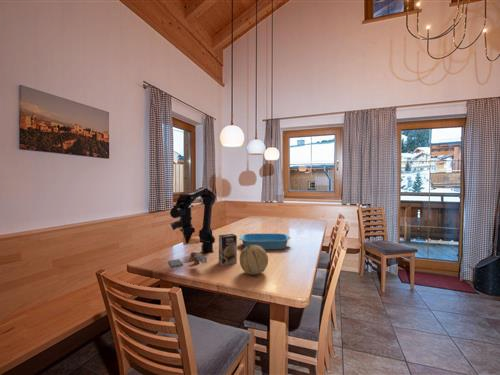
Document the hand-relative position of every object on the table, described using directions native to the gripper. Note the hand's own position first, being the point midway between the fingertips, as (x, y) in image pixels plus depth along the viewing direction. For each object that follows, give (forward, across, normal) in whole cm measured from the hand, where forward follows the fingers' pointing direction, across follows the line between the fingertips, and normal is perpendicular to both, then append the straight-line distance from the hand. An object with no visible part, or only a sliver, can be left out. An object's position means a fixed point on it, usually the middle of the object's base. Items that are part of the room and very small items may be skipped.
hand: (186, 242), depth 135 cm
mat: (+12, -1, -6) cm, 13 cm away
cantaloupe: (+12, +30, +28) cm, 43 cm away
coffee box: (+12, +10, +22) cm, 27 cm away
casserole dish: (+12, -11, +58) cm, 60 cm away
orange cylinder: (+1, 0, +3) cm, 3 cm away
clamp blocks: (+12, 0, +5) cm, 13 cm away
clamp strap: (+8, +12, +6) cm, 15 cm away
